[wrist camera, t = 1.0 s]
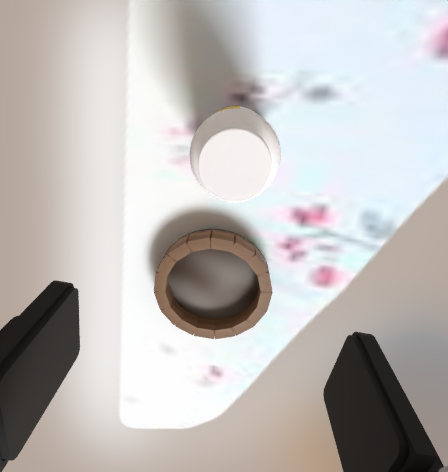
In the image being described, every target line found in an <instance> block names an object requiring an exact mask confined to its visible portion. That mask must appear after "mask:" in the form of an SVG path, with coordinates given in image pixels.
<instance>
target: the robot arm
mask: <svg viewBox="0 0 448 472" xmlns="http://www.w3.org/2000/svg"><path fill="white" fill-rule="evenodd" d="M79 350H80V336H79V301H78V289H76V288H74V286H73V284H72V283H67V282H61V281H53V282H51V283H50V285H48V286H47V287H46V289H45V290H44V291H43V292H42V293H41V294H40V295H39V296H38V297H37V298H36V299H35V300H34V301H33V302H32V303H31V304H30V305H29V306H28V307H27V308H26V309H25V310H24V311H23V312H22V313H21V315H19V316H16V317H14V318H13V319H11V320H10V321H9V322H8V323H7V324H6V325H5V326H4V327H3V328H2V329H1V330H0V472H2V470H3V468H4V467H5V466H6V464H7V462H8V461H9V460H14V459H15V458H16V457H17V456H18V454H19V453H20V451H21V450H22V448H23V446H24V445H25V443H26V441H27V440H28V438H29V436H30V435H31V433H32V431H33V430H34V428H35V426H36V425H37V423H38V422H39V420H40V418H41V416H42V415H43V413H44V411H45V410H46V408H47V406H48V405H49V403H50V402H51V400H52V398H53V397H54V395H55V393H56V392H57V390H58V388H59V387H60V385H61V383H62V382H63V380H64V378H65V377H66V375H67V373H68V372H69V370H70V368H71V367H72V365H73V363H74V362H75V360H76V358H77V356H78V354H79ZM324 401H325V404H326V408H327V412H328V415H329V419H330V423H331V427H332V431H333V434H334V438H335V441H336V445H337V449H338V453H339V456H340V460H341V464H342V468H343V471H344V472H448V467H444V466H443V464H442V462H441V460H440V458H439V456H438V454H437V452H436V450H435V448H434V447H433V445H432V443H431V441H430V439H429V437H428V435H427V434H426V432H425V430H424V428H423V426H422V424H421V423H420V421H419V419H418V417H417V415H416V413H415V412H414V409H413V408H412V406H411V404H410V402H409V400H408V398H407V396H406V394H405V393H404V391H403V389H402V387H401V385H400V383H399V381H398V380H397V378H396V376H395V374H394V372H393V370H392V368H391V367H390V365H389V363H388V361H387V359H386V358H385V355H384V354H383V352H382V350H381V349H380V346H379V344H378V342H377V341H376V339H375V337H374V336H373V335H371V334H365V333H360V332H354V333H353V334H352V335H349V336H348V337H347V339H346V341H345V343H344V345H343V348H342V350H341V352H340V354H339V356H338V359H337V361H336V363H335V365H334V368H333V370H332V372H331V374H330V377H329V379H328V381H327V383H326V386H325V388H324Z"/></svg>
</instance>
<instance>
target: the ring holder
mask: <svg viewBox="0 0 448 472" xmlns="http://www.w3.org/2000/svg"><path fill="white" fill-rule="evenodd" d="M154 291H155V292H154V293H155V296H156V299H157V302H158V305H159V307H160V310H161V311H162V313H163V314H164V315H165V316H166V317H167V318H168V319H169V320H170V321H171V322H172V324H173V325H175V324H176V325H175V326H176V327H178V328H180V329H182V330H184V331H186V332H187V333H189V334H191V335H193V334H194V336H199V337H205V338H211V339H214V336H215V339H219V338H226V337H232V336H235V334H236V336H237V335H239V334H241V333H242V332H244V331H246V330H248V329H250V328H252V327H254V326H255V325H256V324H257V322H258V321H259V320H260V319H261V318H262V317H263V315H264V314H265V313H266V312H267V310H268V306H269V303H270V299H271V296H272V287H271V281H270V276H269V271H268V266H267V263H266V261H265V259H264V257H263V256H262V254H261V252H260V251H259V250H258V249H257V248H256V247H255V246H254V245H253V244H252V243H251V242H250V241H248V240H247V239H245V238H244V237H242V236H240V235H238V234H235V233H233V232H229V231H225V230H218V229H207V230H200V231H196V232H193V233H190V234H188V235H186V236H184V237H182V238H181V239H179V240H178V241H177V242H175V243H174V244H173V245H172V246H171V247H170V248H169V250H168V251H167V253H166V255H165V256H164V258H163V260H162V261H161V263H160V265H159V267H158V269H157V271H156V276H155V286H154ZM253 325H254V326H253Z"/></svg>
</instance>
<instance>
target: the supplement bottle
mask: <svg viewBox="0 0 448 472" xmlns="http://www.w3.org/2000/svg"><path fill="white" fill-rule="evenodd" d="M280 158H281V151H280V144H279V141H278V138H277V135H276V133H275V131H274V130H273V128H272V127H271V125H270V124H269V123H268V122H267V121H266V120H265V119H264V118H262V117H261V116H259V115H258V114H257V113H255V112H254V111H252V110H250V109H248V108H245V107H241V106H230V107H226V108H223V109H221V110H219V111H217V112H216V113H214V114H213V115H211V116H210V117H208V118H207V119H206V120H205V121H204V122H203V123H202V124H201V125H200V126H199V128H198V129H197V131H196V132H195V134H194V137H193V140H192V143H191V147H190V163H191V168H192V171H193V174H194V176H195V178H196V180H197V181H198V183H199V184H200V185H201V186H202V187H203V188H204V189H205V190H206V191H207V192H208V193H210V194H211V195H213V196H215V197H216V198H218V199H220V200H223V201H226V202H232V203H233V202H243V201H247V200H249V199H251V198H253V197H255V196H257V195H259V194H260V193H262V192H263V191H264V190H265V189H266V188H267V187H268V186H269V185H270V184H271V183H272V181H273V180H274V178H275V176H276V174H277V171H278V169H279V165H280Z"/></svg>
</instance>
